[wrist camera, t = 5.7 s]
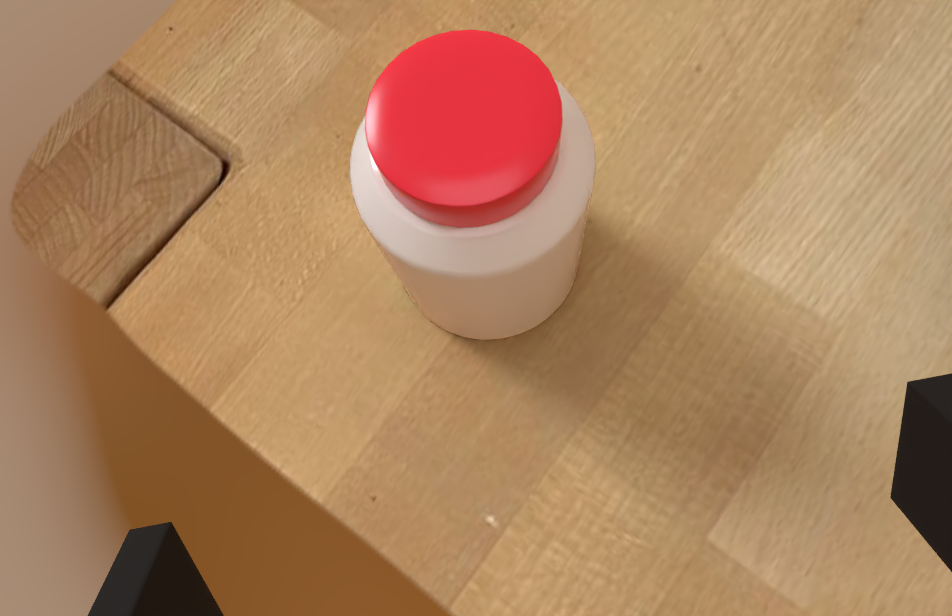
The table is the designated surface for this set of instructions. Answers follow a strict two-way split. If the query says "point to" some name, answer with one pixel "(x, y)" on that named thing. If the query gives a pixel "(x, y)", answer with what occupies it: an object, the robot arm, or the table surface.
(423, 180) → the pill bottle
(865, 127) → the table surface
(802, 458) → the table surface
